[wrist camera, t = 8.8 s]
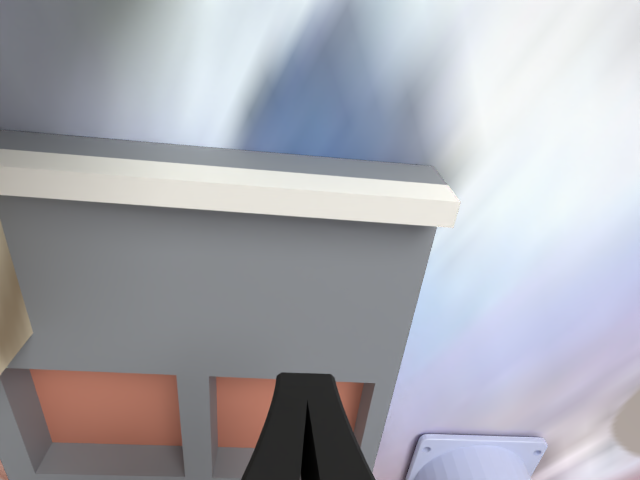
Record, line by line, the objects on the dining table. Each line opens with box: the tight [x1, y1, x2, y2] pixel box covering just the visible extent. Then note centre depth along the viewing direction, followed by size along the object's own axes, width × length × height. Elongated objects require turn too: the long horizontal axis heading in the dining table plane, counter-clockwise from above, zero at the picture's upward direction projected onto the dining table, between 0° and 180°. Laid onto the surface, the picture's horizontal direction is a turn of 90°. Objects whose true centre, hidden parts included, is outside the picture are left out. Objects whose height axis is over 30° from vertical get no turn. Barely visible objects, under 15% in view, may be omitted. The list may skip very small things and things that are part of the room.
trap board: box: [0, 130, 461, 480], centre depth 20 cm, size 20×24×4 cm
